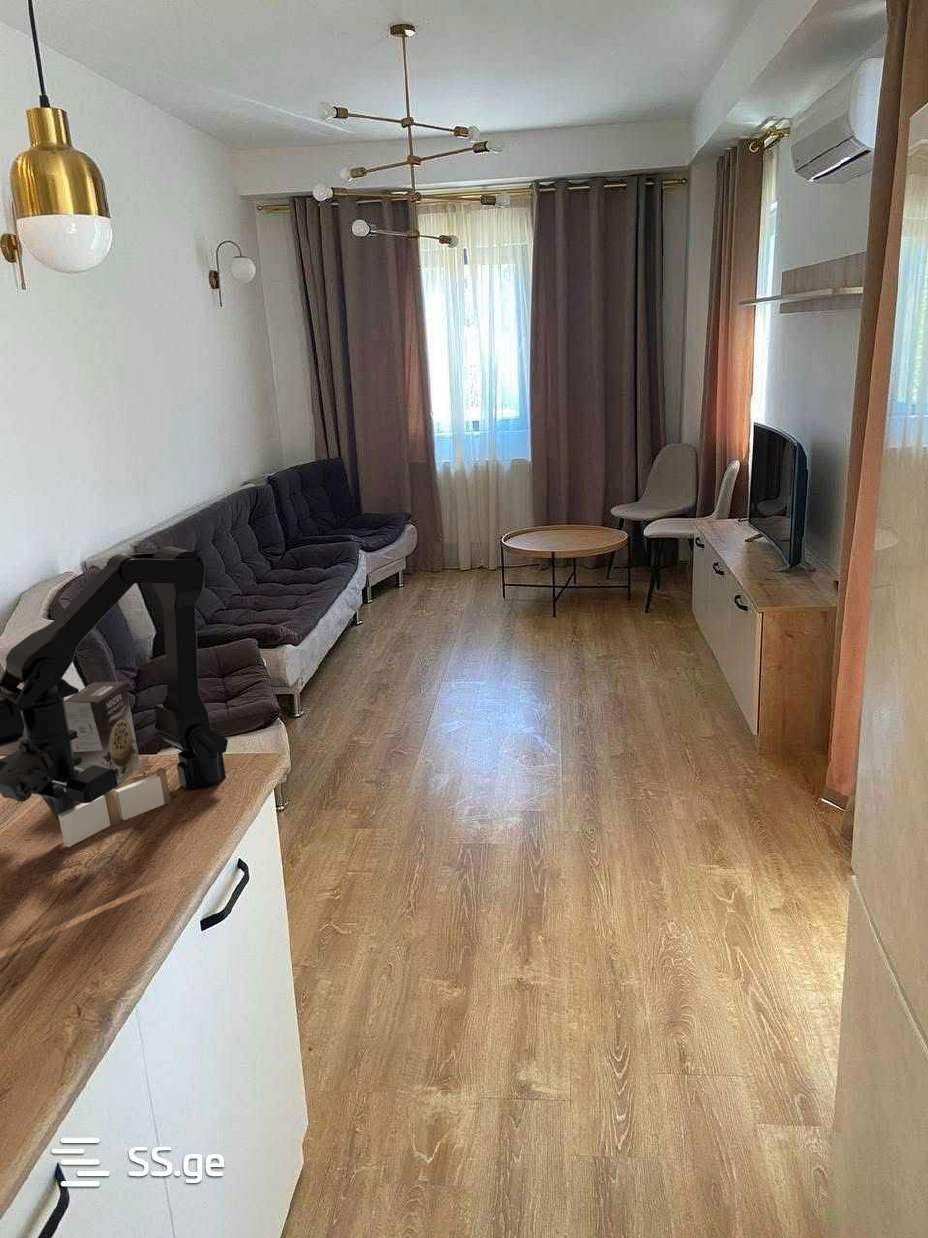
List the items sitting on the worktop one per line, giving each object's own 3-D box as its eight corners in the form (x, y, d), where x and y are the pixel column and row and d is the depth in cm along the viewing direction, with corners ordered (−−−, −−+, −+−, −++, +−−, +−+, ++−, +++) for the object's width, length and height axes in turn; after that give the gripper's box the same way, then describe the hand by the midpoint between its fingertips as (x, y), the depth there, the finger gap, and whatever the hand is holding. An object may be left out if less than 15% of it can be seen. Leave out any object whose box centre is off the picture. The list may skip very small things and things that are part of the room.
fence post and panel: (167, 800, 146) (162, 767, 144) (173, 803, 144) (167, 770, 143) (106, 823, 139) (100, 789, 138) (111, 828, 138) (105, 793, 136)
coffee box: (114, 793, 150) (97, 702, 145) (79, 791, 151) (60, 701, 146) (142, 767, 158) (127, 680, 153) (109, 766, 160) (92, 680, 155)
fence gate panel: (106, 823, 139) (100, 794, 137) (110, 825, 138) (104, 795, 137) (64, 845, 133) (58, 815, 132) (68, 847, 133) (62, 816, 131)
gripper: (-49, 742, 127) (-27, 840, 132) (48, 766, 119) (67, 869, 124) (19, 711, 136) (36, 803, 141) (112, 732, 129) (128, 829, 134)
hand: (64, 826), depth 135 cm, fingers closed
